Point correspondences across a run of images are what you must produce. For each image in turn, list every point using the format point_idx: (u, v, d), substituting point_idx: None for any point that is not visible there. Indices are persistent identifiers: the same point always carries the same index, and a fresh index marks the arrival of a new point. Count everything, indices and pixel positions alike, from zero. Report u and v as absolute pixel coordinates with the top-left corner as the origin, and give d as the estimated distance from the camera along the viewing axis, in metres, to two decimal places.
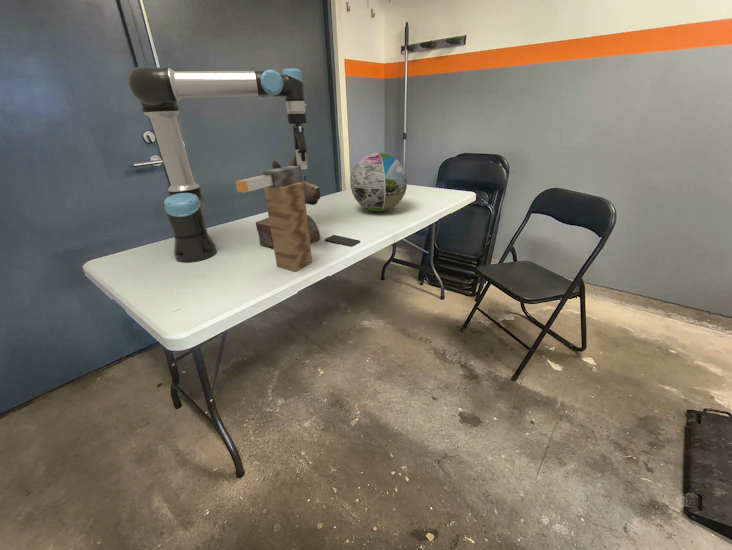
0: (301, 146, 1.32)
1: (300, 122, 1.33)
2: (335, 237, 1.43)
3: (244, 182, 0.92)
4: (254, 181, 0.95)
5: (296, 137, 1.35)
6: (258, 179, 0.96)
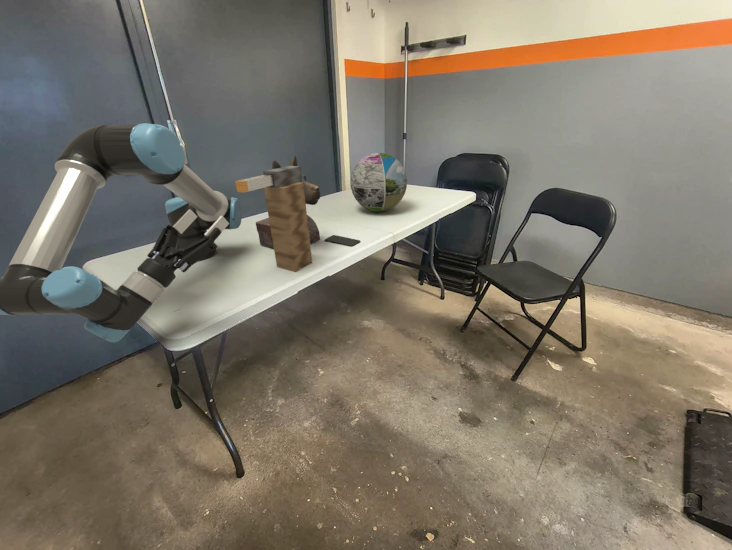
0: None
1: None
2: (335, 237, 1.43)
3: (244, 182, 0.92)
4: (254, 181, 0.95)
5: (163, 244, 0.82)
6: (258, 179, 0.96)
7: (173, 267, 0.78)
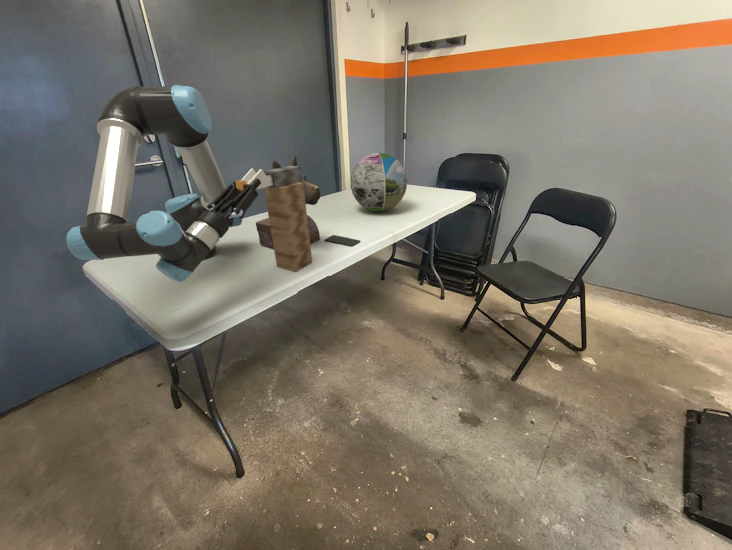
0: None
1: None
2: (335, 237, 1.43)
3: (244, 182, 0.92)
4: None
5: (223, 199, 0.92)
6: None
7: (228, 219, 0.88)
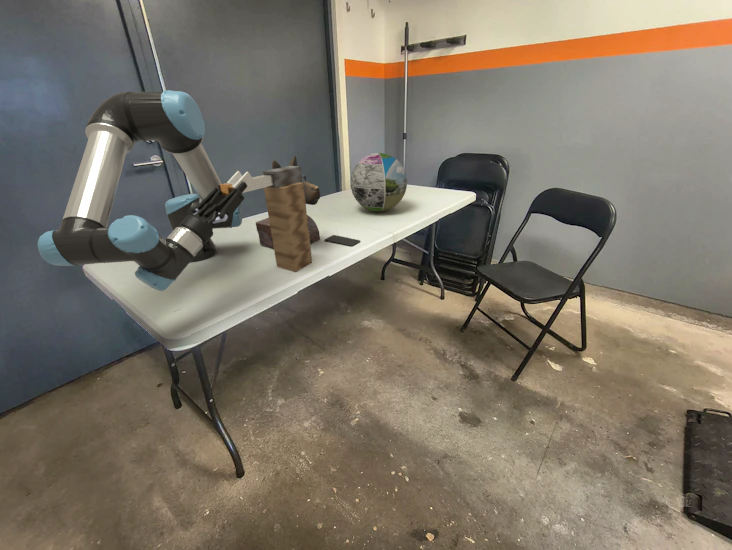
0: None
1: None
2: (335, 237, 1.43)
3: (229, 185, 0.88)
4: None
5: (207, 203, 0.88)
6: None
7: (212, 224, 0.84)
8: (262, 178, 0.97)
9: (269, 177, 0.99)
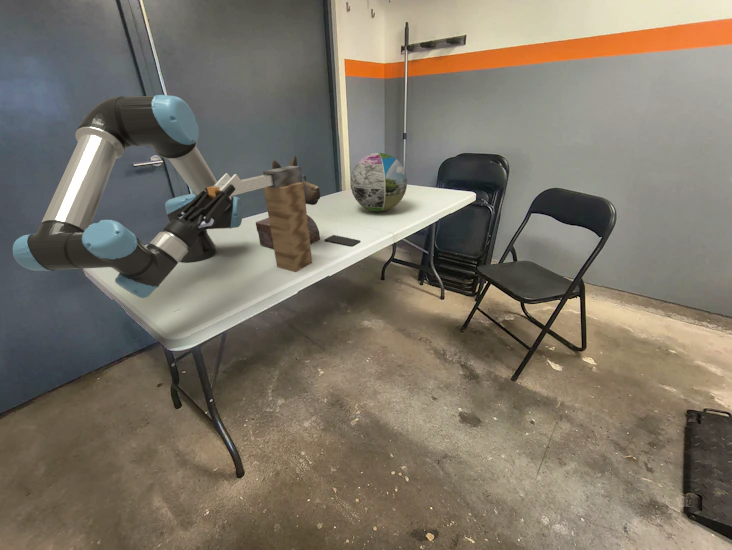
0: None
1: None
2: (335, 237, 1.43)
3: (216, 188, 0.85)
4: None
5: (193, 206, 0.85)
6: None
7: (197, 228, 0.81)
8: (251, 180, 0.94)
9: (259, 179, 0.96)
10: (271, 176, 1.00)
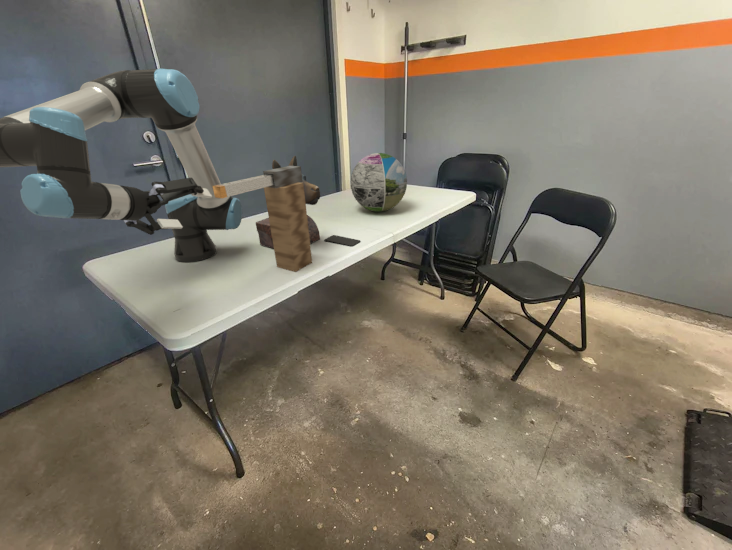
0: None
1: None
2: (335, 237, 1.43)
3: (222, 187, 0.87)
4: (233, 186, 0.90)
5: None
6: (238, 184, 0.91)
7: (148, 194, 0.75)
8: (256, 179, 0.95)
9: (263, 178, 0.98)
10: None
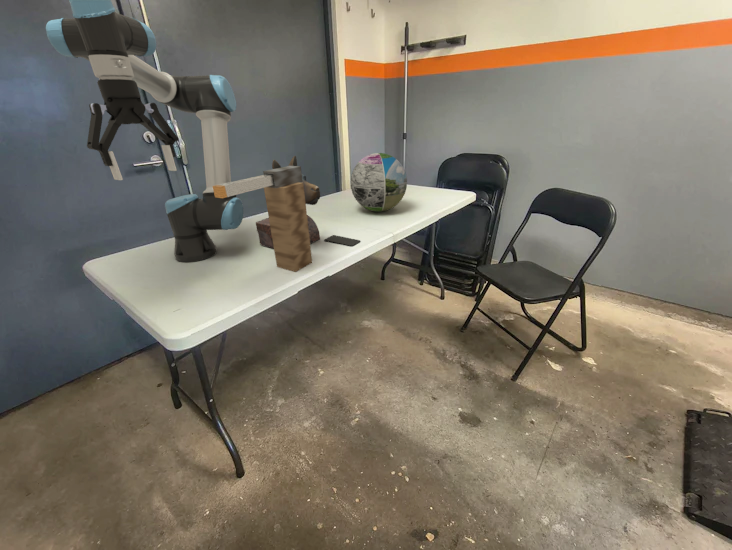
0: (89, 140, 0.73)
1: (105, 96, 0.73)
2: (335, 237, 1.43)
3: (222, 187, 0.87)
4: (233, 186, 0.90)
5: None
6: (238, 184, 0.91)
7: None
8: (256, 179, 0.95)
9: (263, 178, 0.98)
10: None
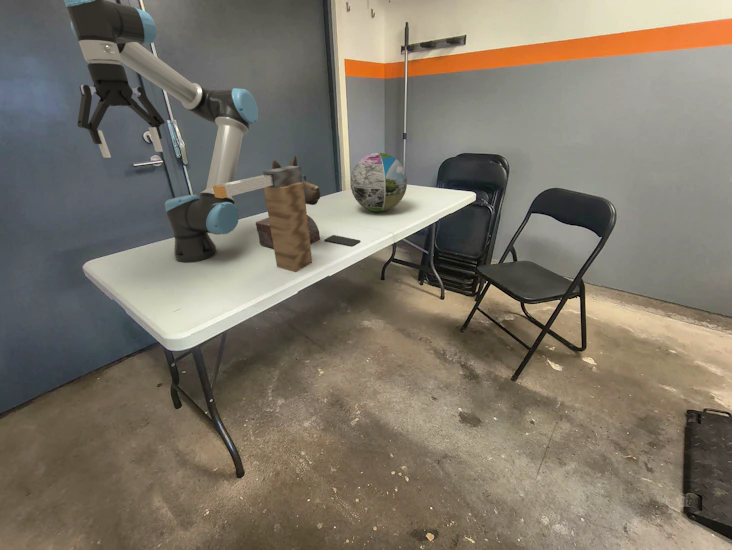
0: (79, 119, 0.80)
1: (95, 79, 0.80)
2: (335, 237, 1.43)
3: (222, 187, 0.87)
4: (233, 186, 0.90)
5: None
6: (238, 184, 0.91)
7: None
8: (256, 179, 0.95)
9: (263, 178, 0.98)
10: None
